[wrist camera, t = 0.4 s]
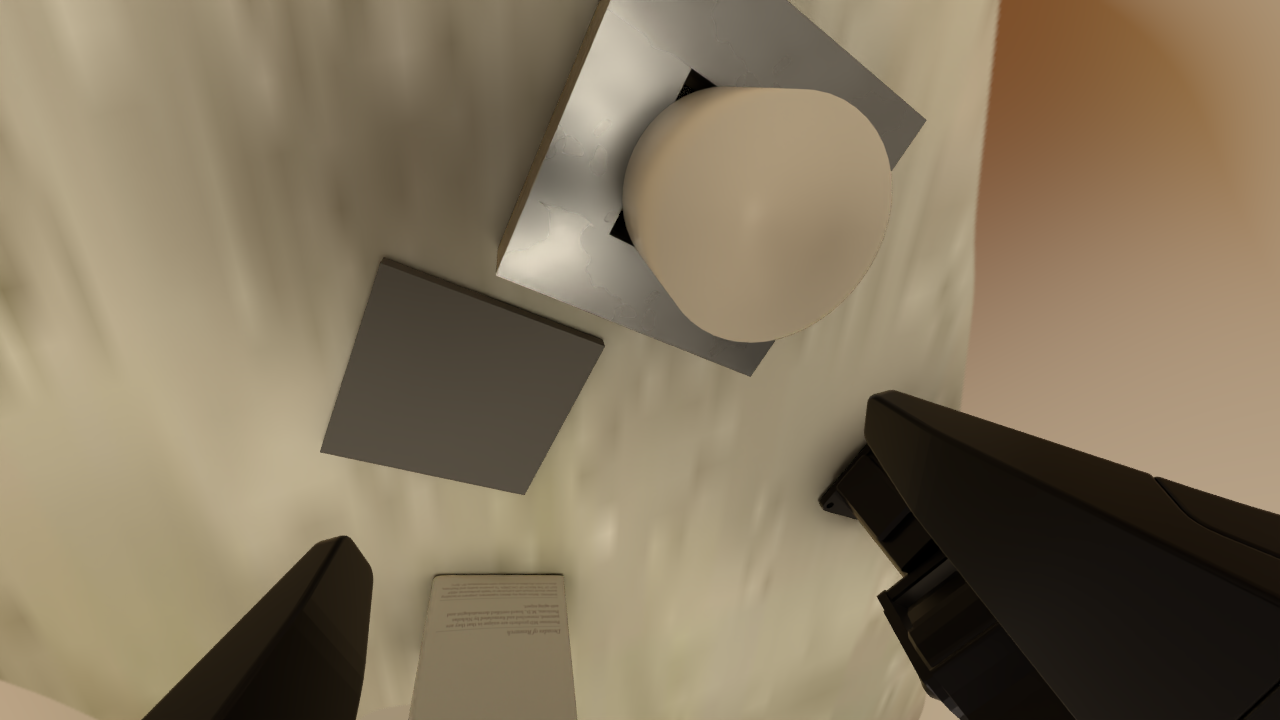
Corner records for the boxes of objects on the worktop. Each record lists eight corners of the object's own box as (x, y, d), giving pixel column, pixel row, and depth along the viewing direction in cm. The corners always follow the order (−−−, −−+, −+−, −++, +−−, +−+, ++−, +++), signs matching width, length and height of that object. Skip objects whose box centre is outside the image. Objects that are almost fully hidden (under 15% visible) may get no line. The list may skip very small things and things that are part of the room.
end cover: (798, 142, 19) (938, 173, 13) (712, 285, 21) (795, 370, 15) (660, 45, 16) (753, 25, 10) (578, 220, 18) (613, 292, 12)
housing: (871, 114, 19) (926, 120, 16) (723, 343, 23) (750, 376, 20) (631, -79, 14) (657, -112, 12) (497, 248, 18) (495, 275, 16)
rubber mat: (602, 340, 21) (604, 346, 21) (524, 486, 24) (524, 495, 24) (384, 257, 18) (380, 262, 17) (324, 443, 21) (319, 452, 20)
